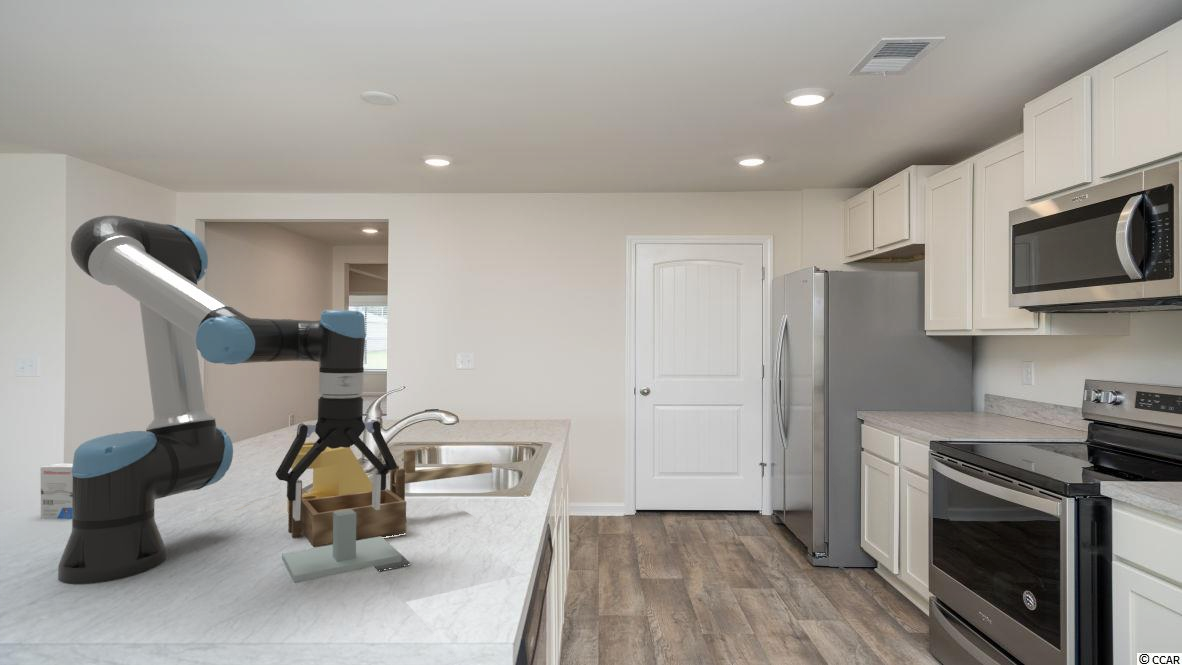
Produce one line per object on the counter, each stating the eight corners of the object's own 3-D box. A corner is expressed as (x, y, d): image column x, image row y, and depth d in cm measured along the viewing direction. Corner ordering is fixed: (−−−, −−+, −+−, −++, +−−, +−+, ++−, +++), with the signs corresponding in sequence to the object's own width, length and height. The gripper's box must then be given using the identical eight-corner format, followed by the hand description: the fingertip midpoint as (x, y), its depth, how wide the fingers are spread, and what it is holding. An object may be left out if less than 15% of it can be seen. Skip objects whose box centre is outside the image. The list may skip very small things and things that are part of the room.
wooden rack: (300, 553, 119) (300, 490, 119) (288, 535, 130) (288, 477, 130) (416, 533, 132) (417, 476, 132) (396, 517, 143) (397, 465, 143)
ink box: (93, 513, 145) (93, 462, 145) (73, 520, 140) (74, 467, 140) (59, 512, 146) (60, 462, 146) (38, 518, 141) (39, 466, 141)
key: (397, 484, 139) (397, 452, 139) (394, 482, 141) (394, 450, 141) (491, 472, 152) (492, 442, 152) (488, 470, 154) (488, 441, 154)
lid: (294, 582, 103) (294, 527, 103) (282, 559, 114) (282, 509, 114) (401, 561, 113) (401, 510, 114) (381, 542, 124) (381, 495, 124)
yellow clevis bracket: (305, 519, 141) (305, 448, 141) (278, 514, 146) (279, 445, 146) (373, 499, 159) (374, 436, 159) (348, 495, 163) (348, 433, 163)
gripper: (266, 400, 103) (262, 529, 103) (415, 395, 117) (412, 509, 117) (260, 395, 109) (257, 517, 109) (403, 391, 123) (399, 499, 123)
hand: (337, 513), depth 113 cm, fingers open, 13 cm apart
